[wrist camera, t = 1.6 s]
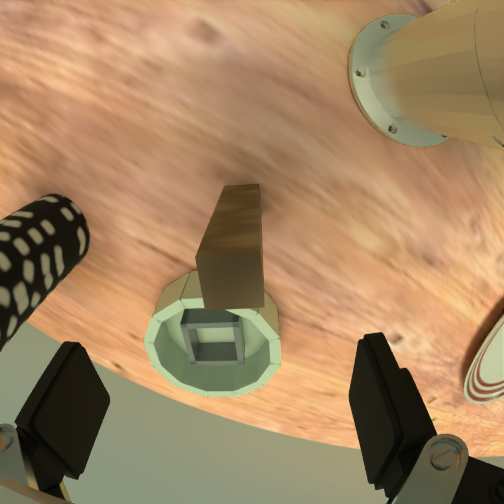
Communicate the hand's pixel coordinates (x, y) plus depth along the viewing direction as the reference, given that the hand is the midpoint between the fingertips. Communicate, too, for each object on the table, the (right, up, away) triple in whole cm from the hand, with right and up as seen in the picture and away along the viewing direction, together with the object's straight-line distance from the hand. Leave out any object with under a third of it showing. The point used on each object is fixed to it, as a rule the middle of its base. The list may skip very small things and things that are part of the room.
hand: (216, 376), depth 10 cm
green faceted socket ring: (-3, -4, +24) cm, 24 cm away
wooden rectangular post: (0, +8, +18) cm, 20 cm away
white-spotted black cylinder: (-20, +6, +20) cm, 28 cm away
